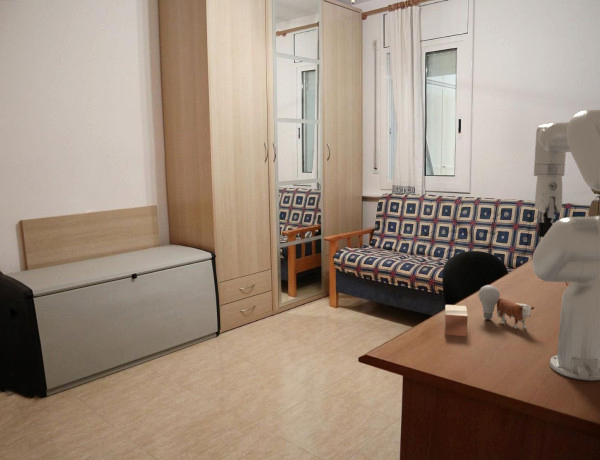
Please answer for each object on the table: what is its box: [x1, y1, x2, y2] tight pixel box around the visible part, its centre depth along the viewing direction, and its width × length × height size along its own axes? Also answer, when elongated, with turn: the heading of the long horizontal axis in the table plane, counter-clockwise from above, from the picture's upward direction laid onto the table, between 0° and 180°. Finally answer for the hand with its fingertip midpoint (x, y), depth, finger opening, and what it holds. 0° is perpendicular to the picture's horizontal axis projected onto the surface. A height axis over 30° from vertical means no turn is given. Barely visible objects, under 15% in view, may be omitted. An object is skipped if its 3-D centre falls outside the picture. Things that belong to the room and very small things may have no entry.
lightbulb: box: [478, 284, 501, 321], centre depth 156 cm, size 6×6×11 cm
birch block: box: [444, 304, 469, 337], centre depth 149 cm, size 6×6×9 cm
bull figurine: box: [496, 297, 535, 330], centre depth 151 cm, size 4×13×8 cm, turn 20°
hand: (544, 236), depth 142 cm, fingers closed
